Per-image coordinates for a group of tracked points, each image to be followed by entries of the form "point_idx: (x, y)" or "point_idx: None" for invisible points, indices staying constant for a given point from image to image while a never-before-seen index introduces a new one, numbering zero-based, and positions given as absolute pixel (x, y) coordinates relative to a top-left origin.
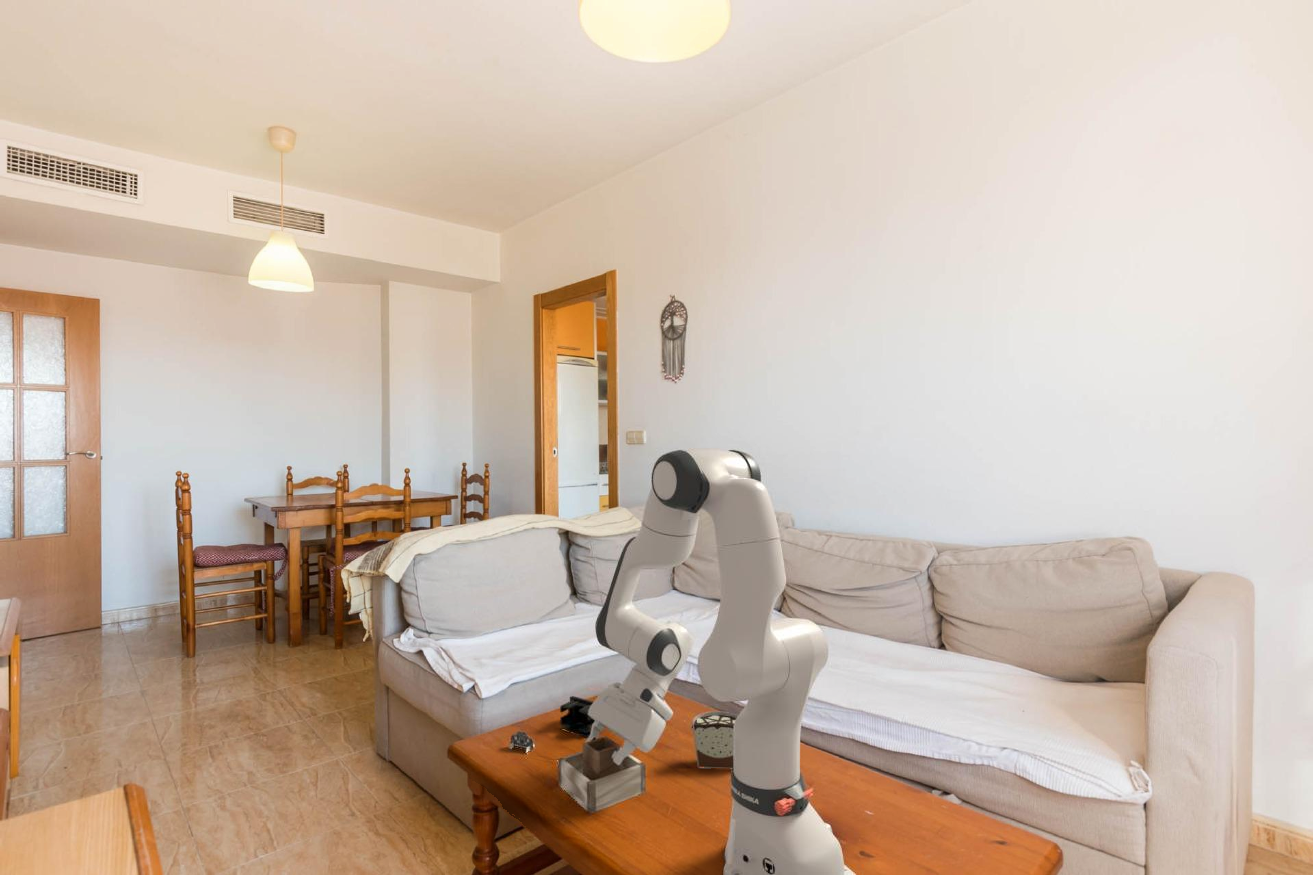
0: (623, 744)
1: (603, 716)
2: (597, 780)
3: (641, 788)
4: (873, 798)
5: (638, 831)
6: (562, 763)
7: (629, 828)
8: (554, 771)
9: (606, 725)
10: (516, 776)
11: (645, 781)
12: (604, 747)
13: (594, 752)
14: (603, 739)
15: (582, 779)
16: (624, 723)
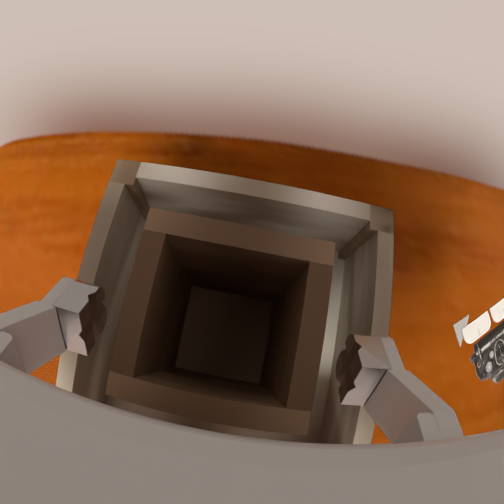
0: (8, 334)
1: (412, 489)
2: (113, 197)
3: None
4: None
5: (3, 242)
6: (355, 202)
7: (23, 236)
8: (431, 297)
9: (287, 442)
10: (459, 207)
11: None
12: (275, 397)
13: (174, 212)
14: (286, 398)
15: (176, 168)
16: (1, 463)
